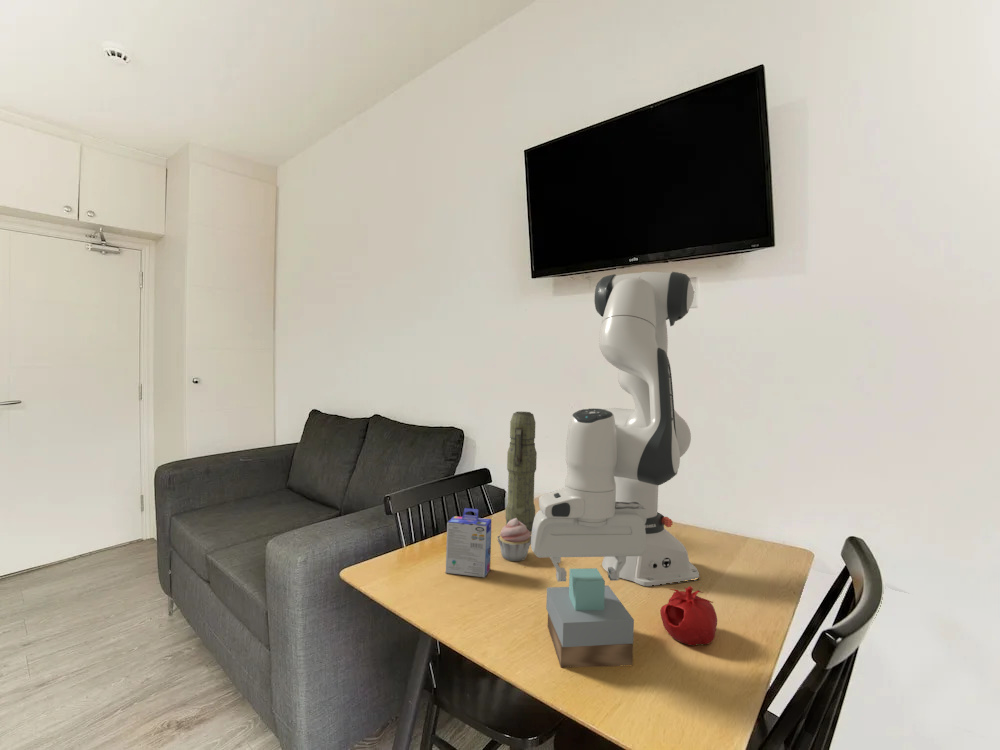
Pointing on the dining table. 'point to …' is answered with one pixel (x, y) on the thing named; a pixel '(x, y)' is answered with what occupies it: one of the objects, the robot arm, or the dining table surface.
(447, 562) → the ink cartridge box
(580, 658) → the tower bottom slab
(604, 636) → the tower top slab
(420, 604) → the dining table surface
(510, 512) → the thermos
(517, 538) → the cupcake
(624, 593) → the dining table surface
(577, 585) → the teal cube
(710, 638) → the pomegranate
